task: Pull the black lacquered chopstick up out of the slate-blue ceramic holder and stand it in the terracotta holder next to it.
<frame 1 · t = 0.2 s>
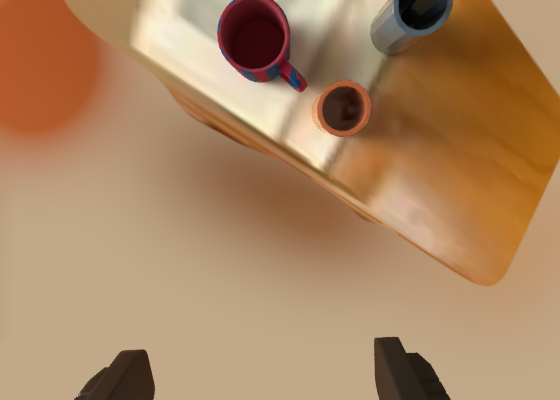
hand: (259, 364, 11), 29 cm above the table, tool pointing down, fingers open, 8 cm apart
mug: (270, 63, 36), on the table
holder b: (333, 111, 37), on the table
holder a: (393, 30, 34), on the table
chopstick: (394, 28, 34), point 1 cm above the table, touching holder a
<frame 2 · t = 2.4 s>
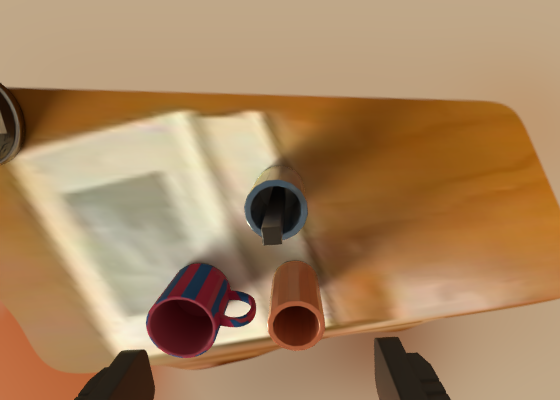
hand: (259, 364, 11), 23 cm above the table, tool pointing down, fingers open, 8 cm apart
mug: (216, 289, 36), on the table
holder b: (295, 280, 35), on the table
holder a: (279, 189, 32), on the table
chopstick: (279, 190, 32), point 1 cm above the table, touching holder a
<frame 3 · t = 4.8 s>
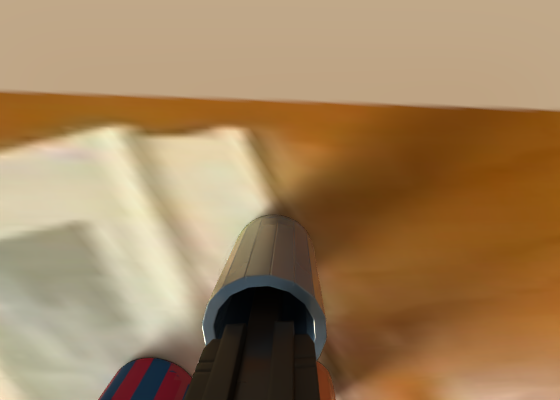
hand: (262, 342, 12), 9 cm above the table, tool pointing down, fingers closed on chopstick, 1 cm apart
mug: (178, 394, 24), on the table
holder b: (298, 384, 23), on the table
holder a: (274, 251, 20), on the table
chopstick: (274, 255, 20), point 1 cm above the table, touching gripper
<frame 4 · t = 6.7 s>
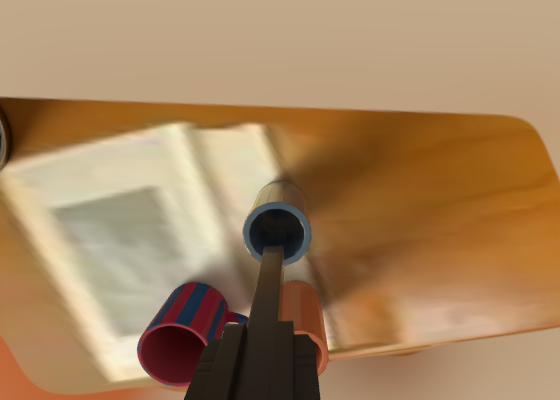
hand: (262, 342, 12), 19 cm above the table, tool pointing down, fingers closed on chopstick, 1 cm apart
mug: (213, 310, 34), on the table
holder b: (296, 301, 33), on the table
holder a: (281, 206, 30), on the table
chopstick: (274, 254, 20), point 11 cm above the table, touching gripper
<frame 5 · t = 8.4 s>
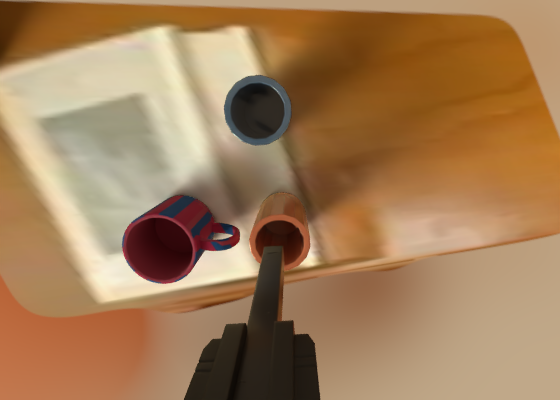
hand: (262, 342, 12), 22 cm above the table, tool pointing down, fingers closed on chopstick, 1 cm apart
mug: (200, 225, 34), on the table
holder b: (282, 214, 33), on the table
holder a: (265, 113, 31), on the table
chopstick: (274, 254, 20), point 14 cm above the table, touching gripper
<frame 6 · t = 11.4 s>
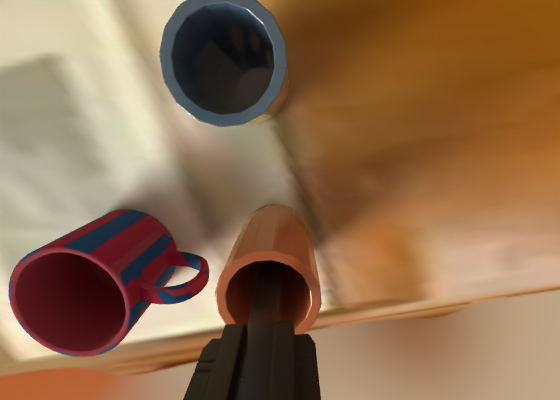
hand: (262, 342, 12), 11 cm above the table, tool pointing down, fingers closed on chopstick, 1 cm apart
mug: (156, 253, 23), on the table
holder b: (276, 238, 22), on the table
holder a: (249, 84, 20), on the table
chopstick: (274, 254, 20), point 3 cm above the table, touching gripper
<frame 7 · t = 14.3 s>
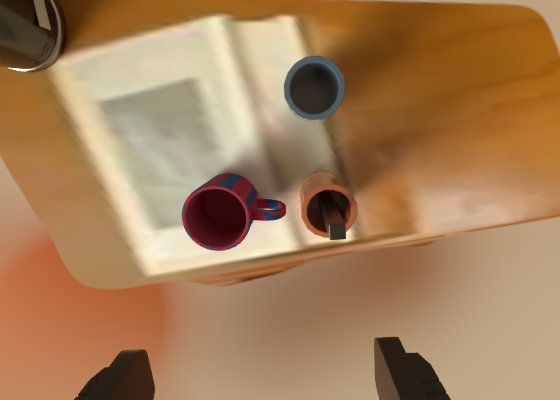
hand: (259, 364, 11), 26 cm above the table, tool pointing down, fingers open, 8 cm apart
mug: (244, 202, 37), on the table
holder b: (321, 192, 36), on the table
holder a: (309, 96, 33), on the table
chopstick: (322, 193, 35), point 1 cm above the table, touching holder b
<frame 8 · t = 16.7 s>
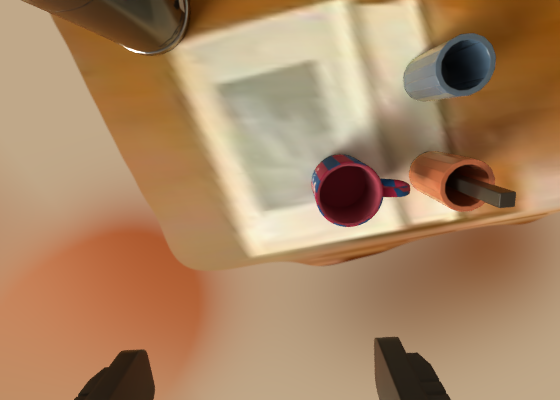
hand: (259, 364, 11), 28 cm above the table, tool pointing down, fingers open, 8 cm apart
mug: (352, 182, 38), on the table
holder b: (430, 172, 37), on the table
holder a: (426, 77, 34), on the table
chopstick: (432, 172, 36), point 1 cm above the table, touching holder b
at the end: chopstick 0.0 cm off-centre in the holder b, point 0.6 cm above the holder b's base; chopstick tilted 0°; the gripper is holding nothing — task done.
